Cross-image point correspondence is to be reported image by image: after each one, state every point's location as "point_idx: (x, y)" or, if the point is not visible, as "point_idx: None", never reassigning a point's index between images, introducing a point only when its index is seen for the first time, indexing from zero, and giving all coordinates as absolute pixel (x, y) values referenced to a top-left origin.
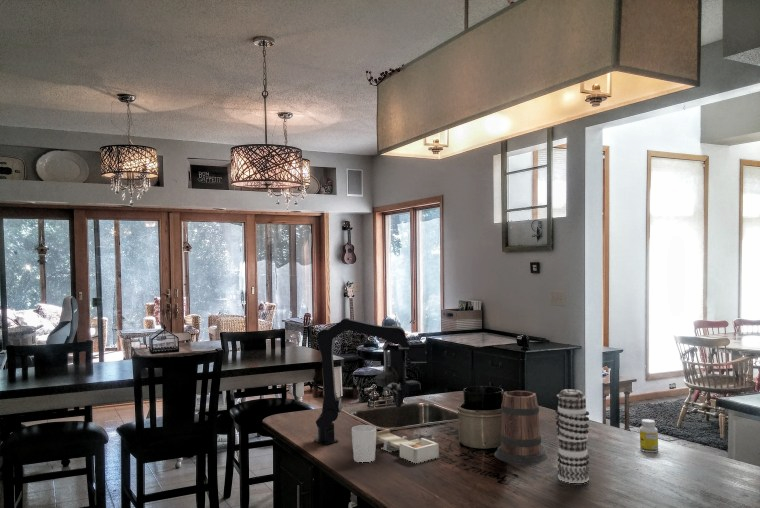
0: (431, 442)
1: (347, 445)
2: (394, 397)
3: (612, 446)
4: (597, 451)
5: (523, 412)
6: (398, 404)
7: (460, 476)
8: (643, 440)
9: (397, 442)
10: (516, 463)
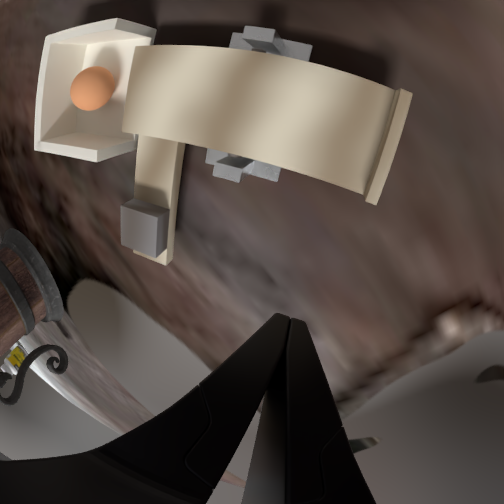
0: (51, 142)
1: (476, 29)
2: (299, 431)
3: (39, 357)
4: (27, 335)
5: None
6: (253, 342)
7: (4, 87)
8: (14, 354)
9: (203, 74)
10: (6, 230)
